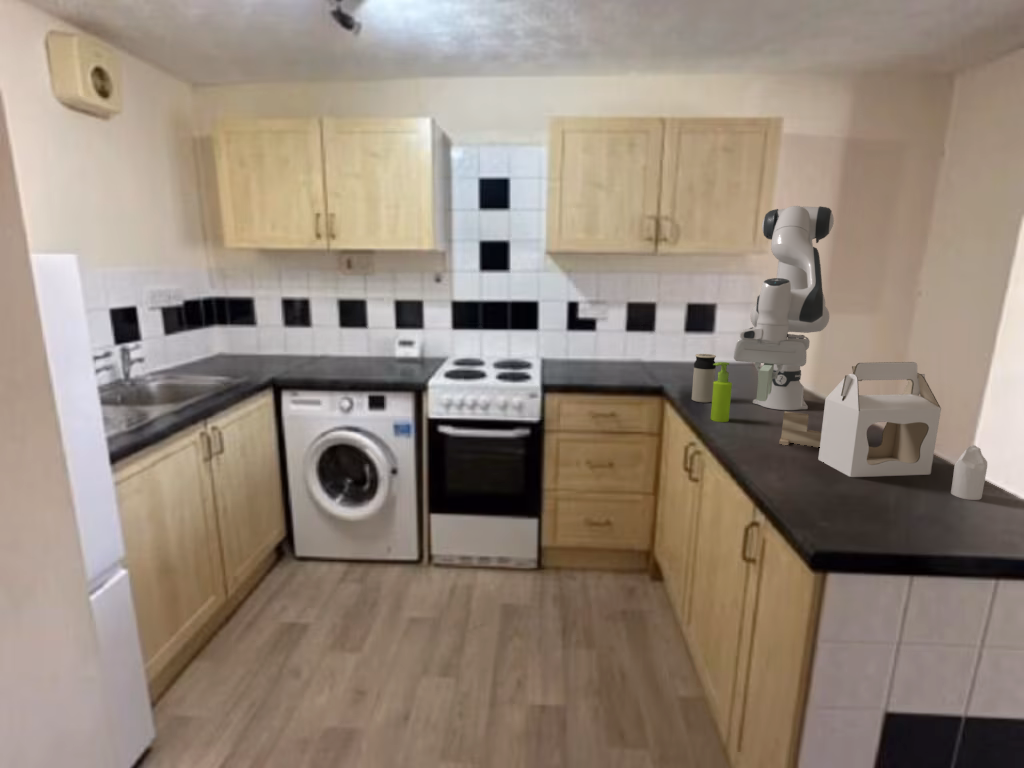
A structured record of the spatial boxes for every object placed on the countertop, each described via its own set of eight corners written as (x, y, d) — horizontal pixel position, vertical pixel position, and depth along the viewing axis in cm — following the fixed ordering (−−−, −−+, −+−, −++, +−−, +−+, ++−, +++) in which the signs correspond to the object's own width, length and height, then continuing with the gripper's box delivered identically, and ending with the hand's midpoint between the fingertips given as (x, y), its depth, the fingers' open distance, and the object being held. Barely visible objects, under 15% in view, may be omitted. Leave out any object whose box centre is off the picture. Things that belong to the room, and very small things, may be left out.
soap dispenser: (704, 418, 195) (708, 361, 190) (720, 416, 197) (725, 360, 193) (716, 423, 189) (720, 364, 185) (732, 421, 192) (737, 363, 187)
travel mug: (714, 403, 216) (718, 357, 212) (692, 402, 217) (696, 356, 214) (711, 398, 223) (714, 353, 220) (690, 397, 225) (693, 353, 221)
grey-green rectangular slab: (762, 390, 177) (765, 362, 175) (771, 391, 176) (774, 363, 174) (756, 400, 165) (759, 370, 163) (765, 401, 164) (768, 371, 162)
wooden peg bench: (781, 437, 173) (784, 409, 172) (851, 447, 164) (855, 417, 162) (779, 444, 167) (782, 415, 165) (851, 455, 158) (855, 424, 156)
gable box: (892, 457, 156) (907, 357, 150) (931, 474, 143) (949, 366, 137) (816, 459, 154) (828, 358, 148) (849, 477, 141) (864, 367, 135)
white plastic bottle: (971, 449, 125) (951, 442, 130) (962, 500, 127) (943, 490, 133) (998, 449, 125) (976, 441, 131) (988, 500, 128) (968, 490, 133)
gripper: (810, 334, 168) (805, 379, 171) (738, 330, 178) (734, 372, 181) (809, 336, 163) (804, 383, 166) (734, 332, 173) (731, 376, 176)
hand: (767, 377), depth 173 cm, fingers closed on grey-green rectangular slab, 2 cm apart
